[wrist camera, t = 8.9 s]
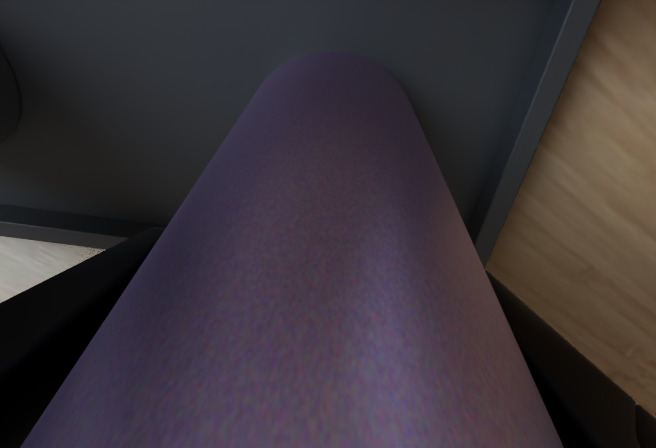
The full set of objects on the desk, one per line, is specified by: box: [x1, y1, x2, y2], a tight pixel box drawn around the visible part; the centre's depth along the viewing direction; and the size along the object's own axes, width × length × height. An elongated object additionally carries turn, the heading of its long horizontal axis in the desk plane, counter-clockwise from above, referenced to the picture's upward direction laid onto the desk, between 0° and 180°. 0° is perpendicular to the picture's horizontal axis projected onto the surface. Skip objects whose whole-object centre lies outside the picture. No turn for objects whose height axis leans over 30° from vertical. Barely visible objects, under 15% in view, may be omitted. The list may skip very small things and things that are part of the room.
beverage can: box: [20, 51, 564, 448], centre depth 9 cm, size 6×6×15 cm
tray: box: [0, 0, 601, 269], centre depth 15 cm, size 13×28×2 cm, turn 83°
